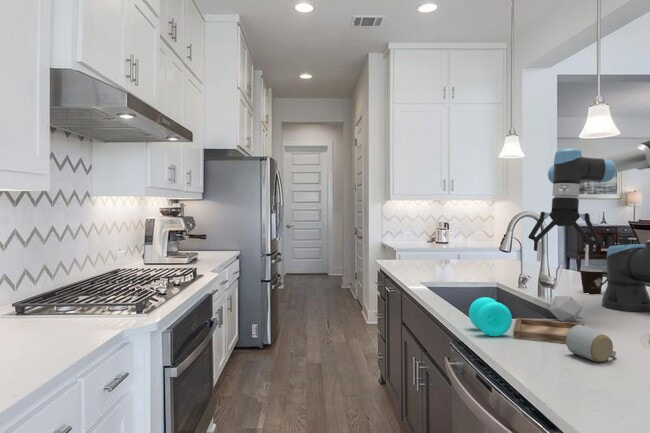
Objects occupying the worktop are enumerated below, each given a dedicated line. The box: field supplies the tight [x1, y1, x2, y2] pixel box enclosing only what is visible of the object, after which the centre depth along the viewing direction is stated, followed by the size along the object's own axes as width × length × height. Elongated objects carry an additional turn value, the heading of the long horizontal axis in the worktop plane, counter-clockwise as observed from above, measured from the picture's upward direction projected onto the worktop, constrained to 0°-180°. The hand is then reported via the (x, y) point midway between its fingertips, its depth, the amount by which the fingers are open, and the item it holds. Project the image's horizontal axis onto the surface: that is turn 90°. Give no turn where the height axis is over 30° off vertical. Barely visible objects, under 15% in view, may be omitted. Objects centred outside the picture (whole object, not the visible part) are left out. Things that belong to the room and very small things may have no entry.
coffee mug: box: [579, 268, 607, 294], centre depth 186 cm, size 12×9×10 cm
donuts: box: [468, 296, 513, 337], centre depth 130 cm, size 10×10×10 cm
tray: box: [513, 317, 586, 345], centre depth 127 cm, size 19×17×2 cm
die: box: [549, 295, 583, 322], centre depth 143 cm, size 8×9×10 cm
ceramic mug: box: [566, 325, 617, 363], centre depth 107 cm, size 10×8×7 cm
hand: (561, 263), depth 140 cm, fingers open, 13 cm apart
